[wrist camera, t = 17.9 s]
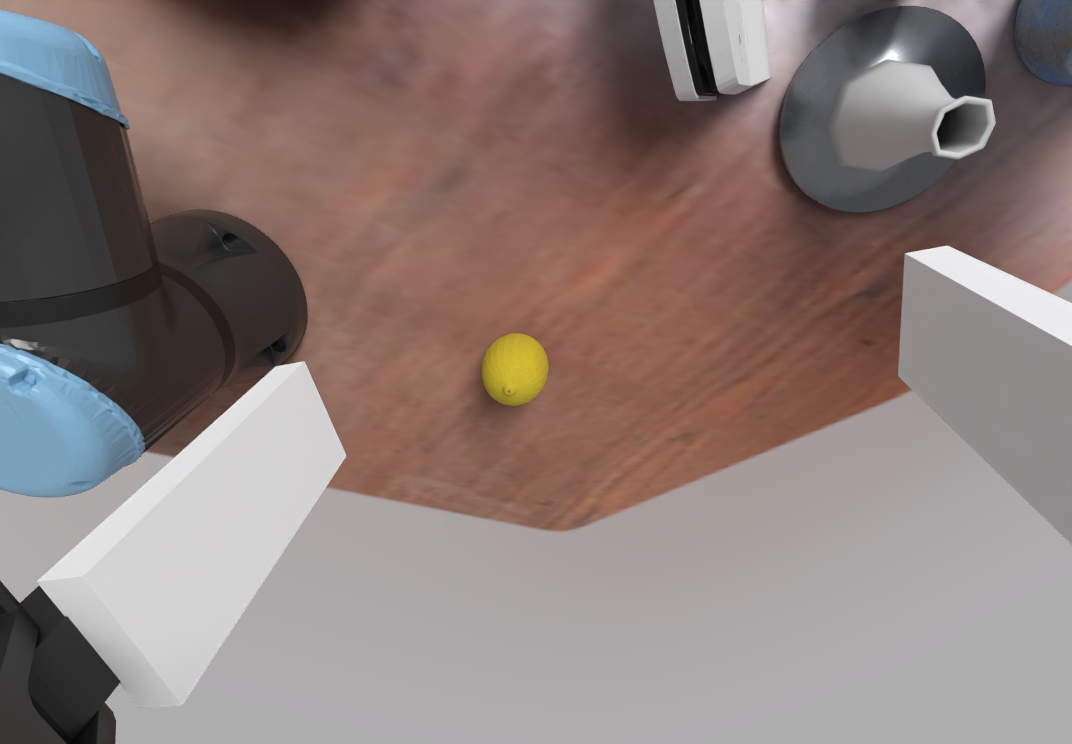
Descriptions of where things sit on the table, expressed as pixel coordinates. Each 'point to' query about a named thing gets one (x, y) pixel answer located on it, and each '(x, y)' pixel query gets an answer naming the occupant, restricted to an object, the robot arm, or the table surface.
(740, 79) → the white flat angled piece
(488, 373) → the lemon
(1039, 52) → the bottle
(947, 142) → the flask
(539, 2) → the table surface
